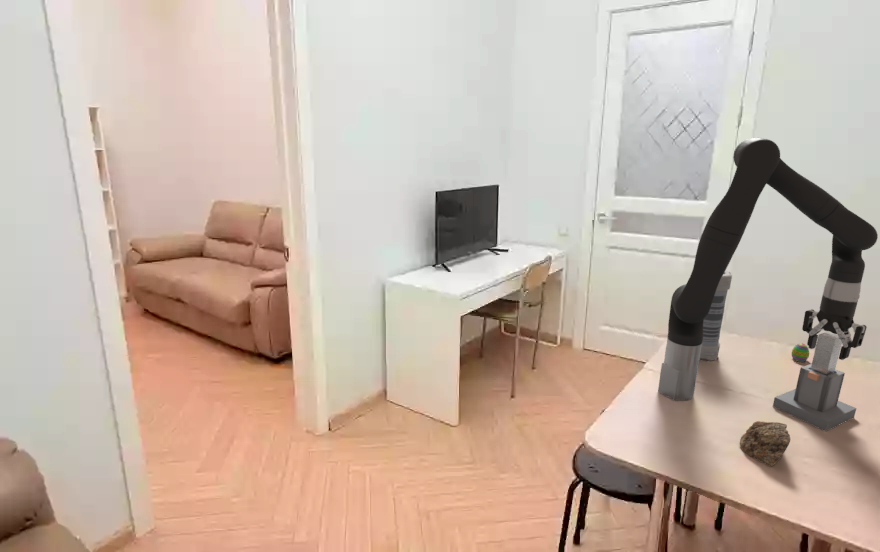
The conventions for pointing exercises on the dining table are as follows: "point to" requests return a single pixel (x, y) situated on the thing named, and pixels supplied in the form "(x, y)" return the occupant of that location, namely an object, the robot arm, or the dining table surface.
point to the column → (826, 353)
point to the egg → (800, 352)
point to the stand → (816, 399)
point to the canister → (715, 320)
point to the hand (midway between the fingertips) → (826, 353)
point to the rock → (765, 441)
